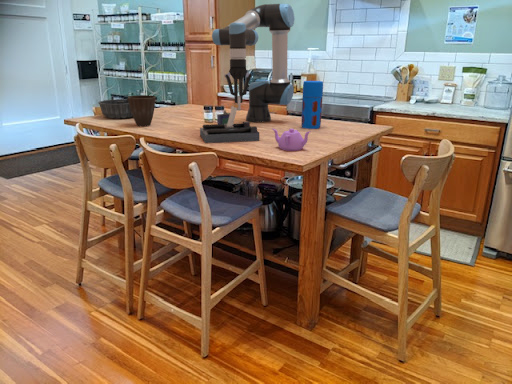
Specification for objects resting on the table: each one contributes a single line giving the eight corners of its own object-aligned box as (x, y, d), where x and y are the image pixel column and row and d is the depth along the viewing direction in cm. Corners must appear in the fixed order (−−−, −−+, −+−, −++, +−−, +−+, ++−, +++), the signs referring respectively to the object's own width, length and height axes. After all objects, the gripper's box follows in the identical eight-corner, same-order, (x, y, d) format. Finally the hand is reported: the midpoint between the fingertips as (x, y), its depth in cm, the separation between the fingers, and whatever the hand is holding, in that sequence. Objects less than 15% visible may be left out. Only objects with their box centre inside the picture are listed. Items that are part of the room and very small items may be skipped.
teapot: (310, 150, 181) (311, 130, 178) (280, 152, 176) (281, 132, 174) (298, 144, 191) (299, 125, 188) (271, 146, 187) (271, 127, 184)
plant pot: (151, 122, 243) (149, 94, 238) (161, 126, 232) (159, 97, 226) (126, 124, 235) (123, 96, 230) (135, 128, 223) (133, 98, 218)
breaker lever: (229, 129, 204) (236, 104, 201) (231, 131, 200) (238, 105, 197) (225, 128, 204) (232, 103, 201) (227, 130, 199) (234, 104, 196)
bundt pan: (90, 118, 254) (88, 102, 251) (119, 112, 277) (117, 97, 274) (125, 121, 245) (123, 104, 241) (152, 115, 268) (150, 99, 264)
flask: (218, 131, 218) (218, 111, 215) (216, 130, 221) (215, 110, 217) (234, 130, 223) (233, 110, 219) (231, 129, 225) (231, 109, 222)
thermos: (322, 126, 236) (325, 81, 227) (317, 129, 226) (320, 82, 218) (304, 124, 240) (306, 80, 232) (298, 127, 231) (300, 81, 222)
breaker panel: (250, 133, 215) (250, 121, 212) (259, 140, 198) (259, 127, 196) (200, 135, 208) (199, 123, 206) (205, 143, 192) (205, 129, 190)
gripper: (249, 58, 197) (249, 108, 204) (222, 58, 194) (224, 109, 201) (253, 58, 190) (253, 110, 198) (226, 58, 187) (227, 111, 194)
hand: (238, 109), depth 199 cm, fingers closed
